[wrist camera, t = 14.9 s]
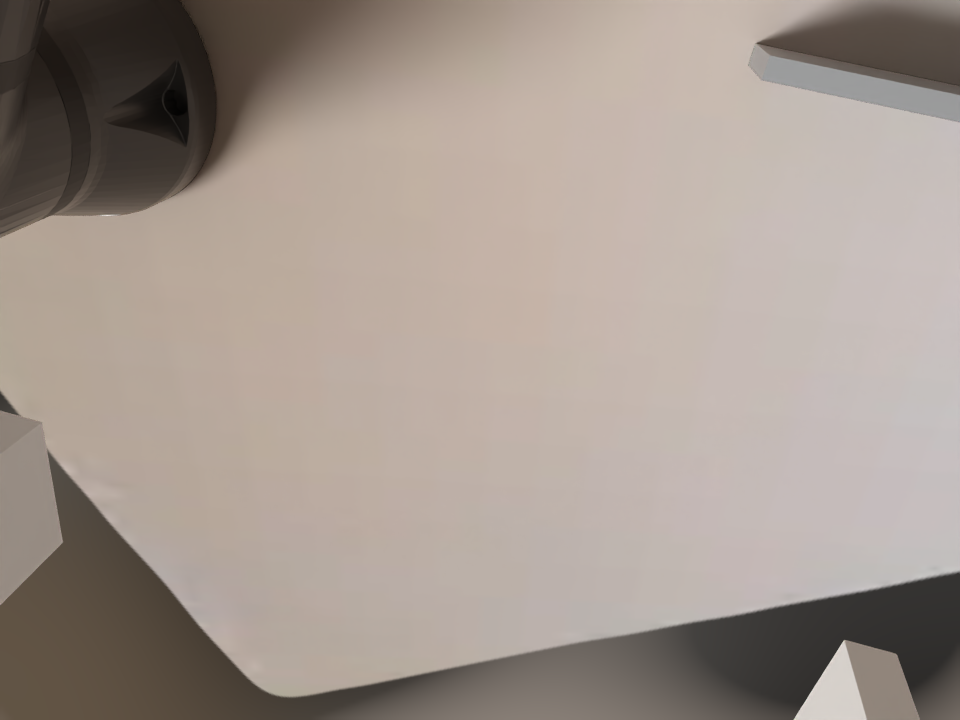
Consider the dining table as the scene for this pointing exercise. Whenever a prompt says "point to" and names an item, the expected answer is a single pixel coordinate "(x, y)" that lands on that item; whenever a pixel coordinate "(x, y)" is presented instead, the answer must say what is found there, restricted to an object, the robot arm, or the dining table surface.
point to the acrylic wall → (856, 82)
